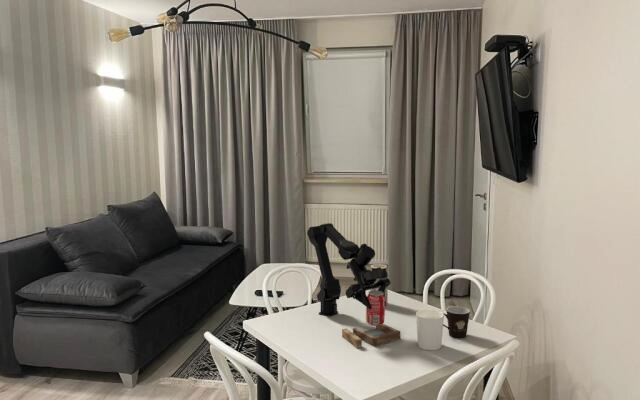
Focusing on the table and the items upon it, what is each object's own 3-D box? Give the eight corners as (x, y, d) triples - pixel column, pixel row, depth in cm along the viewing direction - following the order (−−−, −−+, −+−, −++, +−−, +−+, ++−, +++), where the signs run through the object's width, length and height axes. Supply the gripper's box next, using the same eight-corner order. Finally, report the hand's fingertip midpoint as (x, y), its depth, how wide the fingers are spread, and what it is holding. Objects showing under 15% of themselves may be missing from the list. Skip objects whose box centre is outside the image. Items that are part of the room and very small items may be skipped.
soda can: (378, 319, 188) (379, 289, 187) (387, 325, 182) (389, 294, 181) (362, 321, 186) (363, 291, 185) (371, 327, 179) (372, 296, 178)
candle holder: (427, 353, 170) (428, 320, 168) (410, 343, 178) (410, 312, 177) (449, 348, 174) (449, 315, 173) (431, 338, 183) (431, 307, 181)
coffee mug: (470, 333, 188) (471, 308, 187) (467, 341, 180) (468, 315, 179) (440, 328, 193) (440, 304, 192) (436, 336, 185) (436, 310, 184)
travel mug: (370, 301, 228) (370, 263, 226) (387, 301, 227) (387, 264, 225) (370, 306, 220) (370, 268, 218) (387, 307, 219) (388, 268, 218)
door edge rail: (361, 347, 175) (361, 339, 175) (356, 348, 175) (356, 340, 174) (346, 335, 186) (346, 328, 186) (342, 336, 185) (342, 329, 185)
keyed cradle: (352, 335, 186) (352, 328, 186) (378, 328, 193) (378, 321, 193) (374, 346, 176) (374, 339, 176) (400, 338, 183) (400, 331, 182)
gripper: (350, 264, 180) (368, 301, 172) (388, 257, 190) (407, 292, 182) (337, 280, 187) (355, 315, 179) (375, 272, 197) (393, 306, 189)
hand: (378, 307), depth 182 cm, fingers closed on soda can, 7 cm apart
